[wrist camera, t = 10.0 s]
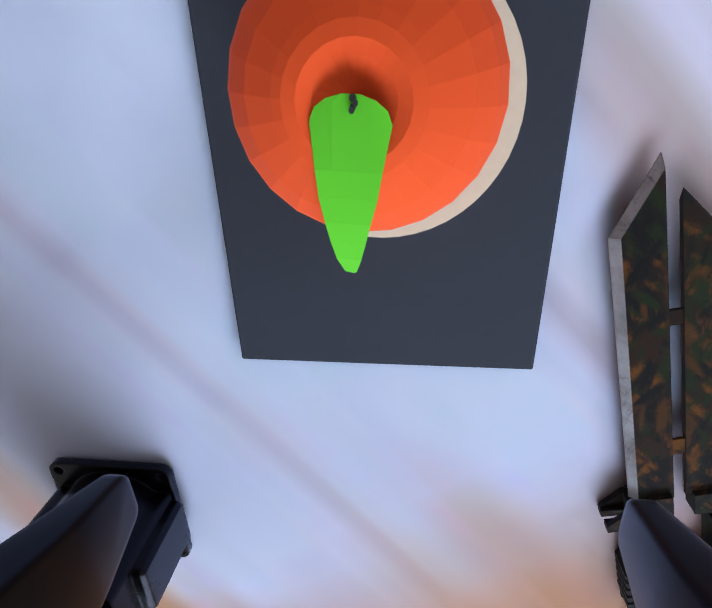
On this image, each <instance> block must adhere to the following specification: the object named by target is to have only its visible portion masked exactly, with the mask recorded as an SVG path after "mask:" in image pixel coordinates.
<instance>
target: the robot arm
mask: <svg viewBox="0 0 712 608" xmlns="http://www.w3.org/2000/svg"><path fill="white" fill-rule="evenodd" d="M50 471H51V474H52V476H53V479H54V481H55V484H56V486H57V489H58V490H57V491H56V492H55V493H54V495H53V496H52V497H51V498H50V499H49V501H48V502H47V503H46V504H45V505H44V507H43V508H42V509H41V510H40V511H39V513H38V514H37V515H36V516H35V517H34V519H33V520H32V521H31V522H30V523H29V525H28V526H26V527H25V528H23V529H22V530H20V531H19V532H17V533H16V534H14V535H13V536H11V537H10V538H8V539H7V540H5V541H4V542H3V543H1V544H0V608H156V607H157V606H158V604H159V602H160V600H161V598H162V595H163V593H164V591H165V589H166V587H167V585H168V583H169V581H170V579H171V577H172V574H173V572H174V570H175V568H176V566H177V564H178V562H179V560H180V558H181V557H186V556H188V554H189V553H190V550H191V548H192V543H191V540H190V531H189V528H188V524H187V520H186V516H185V512H184V508H183V505H182V503H181V501H180V497H179V493H178V489H177V486H176V482H175V478H174V474H173V471H172V469H171V468H170V467H169V466H167V465H164V464H154V463H138V462H122V461H106V460H90V459H75V458H57V459H55V461H54V462H53V463H52V464H51V465H50ZM618 543H619V548H620V552H621V555H622V559H623V563H624V566H625V570H626V574H627V577H628V581H629V585H630V588H631V592H632V595H633V599H634V603H635V606H636V608H712V548H711V547H710V546H709V545H708V544H707V543H706V542H704V541H703V540H702V539H701V538H700V537H698V536H697V535H696V534H695V533H694V532H692V531H691V530H690V529H689V528H688V527H687V526H685V525H684V524H683V523H682V522H681V521H679V520H678V519H677V518H676V517H675V516H674V515H672V514H671V513H670V512H669V511H668V510H666V509H665V508H664V507H663V506H662V505H660V504H659V503H658V502H656V501H654V500H647V499H630V500H628V501H627V502H626V505H625V508H624V512H623V516H622V519H621V523H620V527H619V531H618Z"/></svg>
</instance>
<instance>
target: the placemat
mask: <svg viewBox="0 0 712 608" xmlns="http://www.w3.org/2000/svg"><path fill="white" fill-rule="evenodd" d="M246 1H247V0H188V6H189V12H190V19H191V25H192V32H193V38H194V45H195V51H196V58H197V64H198V71H199V77H200V84H201V91H202V97H203V104H204V110H205V117H206V123H207V130H208V136H209V143H210V149H211V156H212V162H213V169H214V175H215V182H216V188H217V195H218V201H219V208H220V214H221V221H222V227H223V234H224V240H225V247H226V253H227V260H228V266H229V273H230V279H231V286H232V292H233V299H234V305H235V312H236V318H237V325H238V331H239V338H240V344H241V351H242V357H243V358H244V359H270V360H297V361H324V362H351V363H377V364H404V365H431V366H458V367H485V368H512V369H532V368H533V363H534V356H535V350H536V344H537V337H538V331H539V325H540V318H541V312H542V305H543V299H544V293H545V286H546V280H547V274H548V267H549V261H550V254H551V248H552V242H553V235H554V229H555V223H556V216H557V210H558V203H559V197H560V191H561V184H562V178H563V171H564V165H565V159H566V152H567V146H568V140H569V133H570V127H571V120H572V114H573V108H574V101H575V95H576V89H577V82H578V76H579V69H580V63H581V57H582V50H583V44H584V38H585V31H586V25H587V18H588V12H589V6H590V0H491V1H492V3H493V5H494V6H495V8H496V10H497V12H498V14H499V16H500V18H501V20H502V25H503V30H504V35H505V39H506V44H507V49H508V54H509V59H510V80H509V101H508V107H507V111H506V114H505V117H504V121H503V124H502V127H501V131H500V134H499V138H498V141H497V144H496V145H495V147H494V149H493V150H492V152H491V154H490V156H489V157H488V159H487V161H486V162H485V164H484V166H483V167H482V169H481V171H480V173H479V174H478V176H477V177H476V178H475V179H474V180H473V181H472V182H471V183H470V184H469V185H468V186H467V187H466V188H465V189H464V190H463V191H462V192H461V193H460V194H459V196H458V197H457V198H456V199H455V200H454V201H453V202H451V203H450V204H448V205H446V206H445V207H443V208H442V209H440V210H438V211H437V212H435V213H433V214H432V215H430V216H429V217H427V218H425V219H424V220H422V221H418V222H415V223H412V224H409V225H406V226H402V227H399V228H396V229H393V230H382V231H369V234H368V238H367V241H366V245H365V249H364V252H363V256H362V260H361V262H360V265H359V268H358V270H357V272H356V273H352V272H348V271H345V270H344V268H343V267H342V265H341V264H340V262H339V261H338V260H337V258H336V255H335V252H334V249H333V247H332V244H331V241H330V238H329V234H328V231H327V228H326V225H325V224H323V223H321V222H319V221H317V220H315V219H313V218H311V217H309V216H307V215H304V214H302V213H300V212H298V211H296V210H295V209H294V208H293V207H292V206H290V205H289V204H288V203H287V202H286V201H284V200H283V199H282V198H281V197H280V196H278V195H277V194H276V193H275V192H274V191H272V190H271V189H270V188H269V186H268V185H267V184H266V182H265V181H264V180H263V178H262V177H261V176H260V174H259V173H258V172H257V170H256V169H255V168H254V166H253V165H252V164H251V162H250V161H249V159H248V157H247V154H246V152H245V150H244V147H243V145H242V143H241V140H240V138H239V136H238V134H237V131H236V129H235V127H234V121H233V116H232V110H231V105H230V99H229V94H228V69H229V49H230V45H231V42H232V39H233V35H234V32H235V29H236V25H237V22H238V19H239V15H240V12H241V9H242V7H243V6H244V4H245V2H246Z"/></svg>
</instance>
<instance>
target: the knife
mask: <svg viewBox="0 0 712 608" xmlns="http://www.w3.org/2000/svg"><path fill="white" fill-rule="evenodd" d="M679 204H680V272H681V307H680V308H673V309H669V287H668V249H667V210H666V172H665V165H664V161H663V158H662V154H661V153H660V154H659V156H658V157H657V159H656V161H655V162H654V164H653V166H652V167H651V169H650V171H649V172H648V174H647V175H646V177H645V179H644V180H643V182H642V184H641V185H640V187H639V189H638V190H637V192H636V193H635V195H634V197H633V198H632V200H631V202H630V203H629V205H628V207H627V208H626V210H625V211H624V213H623V215H622V216H621V218H620V220H619V221H618V223H617V225H616V226H615V228H614V230H613V231H612V233H611V234H610V236H609V238H608V248H609V260H610V273H611V285H612V298H613V311H614V323H615V336H616V349H617V361H618V374H619V387H620V399H621V412H622V425H623V437H624V450H625V462H626V475H627V488H620V489H619V490H617V491H616V492H614V493H613V494H611V495H610V496H609V497H607V498H606V499H604V500H603V501H601V502H600V503H598V509H599V512H600V514H601V517H605V516H615V515H618V516H616V517H615V518H611V519H604V524H605V527H606V529H607V531H608V533H611V532H618V531H619V527H620V523H621V519H622V516H623V512H624V508H625V505H626V502H627V501H628V500H630V499H647V500H654V501H656V502H658V503H659V504H660V505H662V506H663V507H664V508H665V509H666V510H668V511H669V512H670V513H671V514H672V515H674V503H673V497H674V478H673V455H674V454H683V475H684V492H685V494H686V500H687V502H688V503H689V505H690V507H691V508H692V510H693V511H694V513H695V514H702V540H703V541H704V542H706V543H707V544H708V545H709V546H710V547H711V548H712V216H711V215H710V214H709V213H708V212H707V211H706V210H705V209H704V208H703V207H702V206H701V205H700V204H699V203H698V201H697V200H696V199H695V198H694V197H693V196H692V195H691V194H690V193H689V192H688V191H687V190H686V189H685V188H684V187H683V190H682V193H681V196H680V199H679ZM679 324H681V339H682V407H683V437H675V438H672V401H671V363H670V326H672V325H679ZM615 556H616V558H615V559H616V564H617V565H616V569H617V571H618V572H617V576H618V584H619V586H620V593H621V596H622V597H623V598H624V599H625V602H626V605H627V607H628V608H636V606H635V603H634V599H633V595H632V592H631V588H630V585H629V581H628V577H627V574H626V570H625V566H624V563H623V559H622V555H621V552H620V549H619V550H618V551H615Z"/></svg>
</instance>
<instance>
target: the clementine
mask: <svg viewBox="0 0 712 608" xmlns="http://www.w3.org/2000/svg"><path fill="white" fill-rule="evenodd" d="M509 80H510V59H509V54H508V49H507V44H506V39H505V35H504V30H503V25H502V20H501V18H500V16H499V14H498V12H497V10H496V8H495V6H494V5H493V3H492V1H491V0H247V1H246V2H245V4H244V6H243V7H242V9H241V12H240V15H239V19H238V22H237V25H236V29H235V32H234V35H233V39H232V42H231V45H230V49H229V69H228V94H229V99H230V105H231V110H232V116H233V121H234V127H235V129H236V131H237V134H238V136H239V138H240V140H241V143H242V145H243V147H244V150H245V152H246V154H247V157H248V159H249V161H250V162H251V164H252V165H253V166H254V168H255V169H256V170H257V172H258V173H259V174H260V176H261V177H262V178H263V180H264V181H265V182H266V184H267V185H268V186H269V188H270V189H271V190H272V191H274V192H275V193H276V194H277V195H278V196H280V197H281V198H282V199H283V200H284V201H286V202H287V203H288V204H289V205H290V206H292V207H293V208H294V209H295V210H296V211H298V212H300V213H302V214H304V215H307V216H309V217H311V218H313V219H315V220H317V221H319V222H321V223H323V224H325V225H326V228H327V231H328V234H329V238H330V241H331V244H332V247H333V249H334V252H335V255H336V258H337V260H338V261H339V262H340V264H341V265H342V267H343V268H344V270H345V271H348V272H352V273H356V272H357V270H358V268H359V265H360V262H361V260H362V256H363V252H364V249H365V245H366V241H367V238H368V234H369V231H382V230H393V229H396V228H399V227H402V226H406V225H409V224H412V223H415V222H418V221H422V220H424V219H425V218H427V217H429V216H430V215H432V214H433V213H435V212H437V211H438V210H440V209H442V208H443V207H445V206H446V205H448V204H450V203H451V202H453V201H454V200H455V199H456V198H457V197H458V196H459V194H460V193H461V192H462V191H463V190H464V189H465V188H466V187H467V186H468V185H469V184H470V183H471V182H472V181H473V180H474V179H475V178H476V177H477V176H478V174H479V173H480V171H481V169H482V167H483V166H484V164H485V162H486V161H487V159H488V157H489V156H490V154H491V152H492V150H493V149H494V147H495V145H496V144H497V141H498V138H499V134H500V131H501V127H502V124H503V121H504V117H505V114H506V111H507V107H508V101H509Z"/></svg>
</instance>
